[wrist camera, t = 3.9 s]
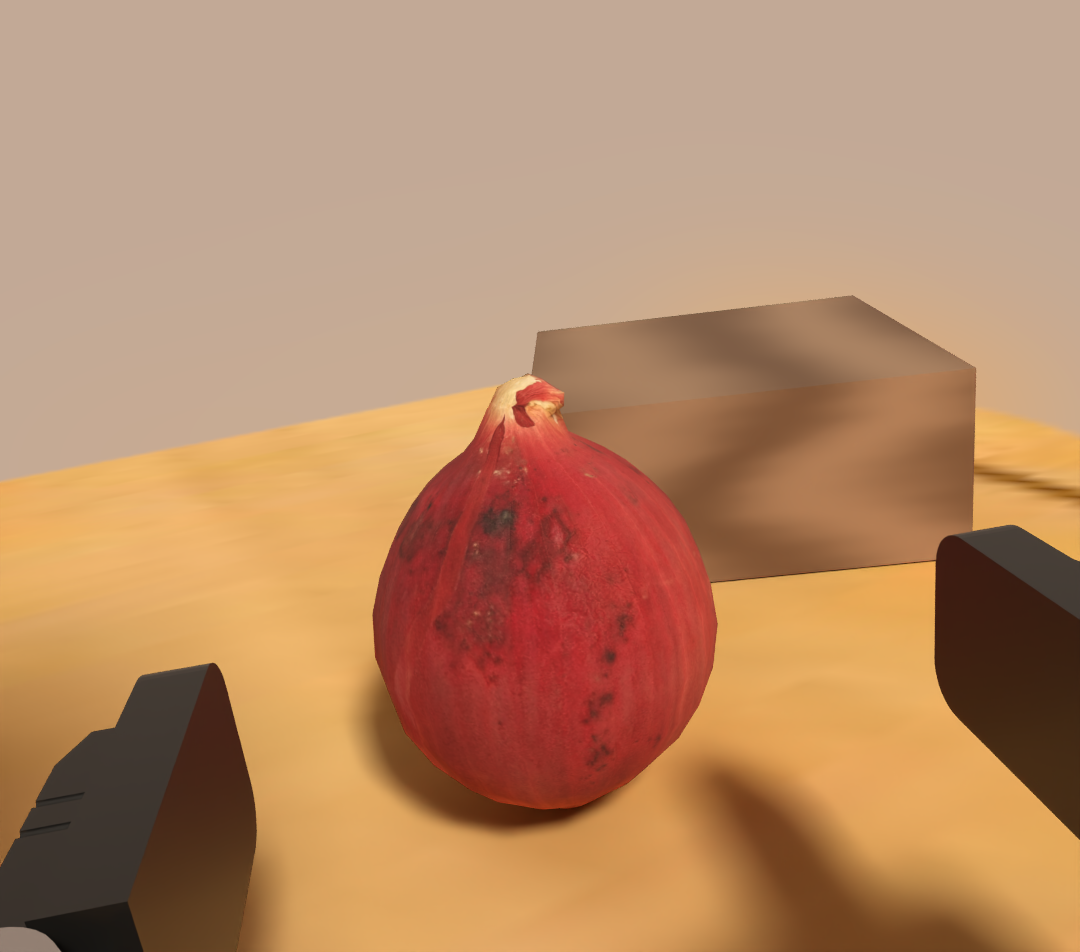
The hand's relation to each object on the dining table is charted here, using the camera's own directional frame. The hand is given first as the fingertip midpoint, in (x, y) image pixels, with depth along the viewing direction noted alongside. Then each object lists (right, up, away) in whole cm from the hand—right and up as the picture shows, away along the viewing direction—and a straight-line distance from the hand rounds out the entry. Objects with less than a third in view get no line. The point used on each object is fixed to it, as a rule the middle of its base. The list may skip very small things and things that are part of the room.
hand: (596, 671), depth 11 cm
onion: (0, -4, +7) cm, 8 cm away
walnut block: (+5, +1, +20) cm, 21 cm away
